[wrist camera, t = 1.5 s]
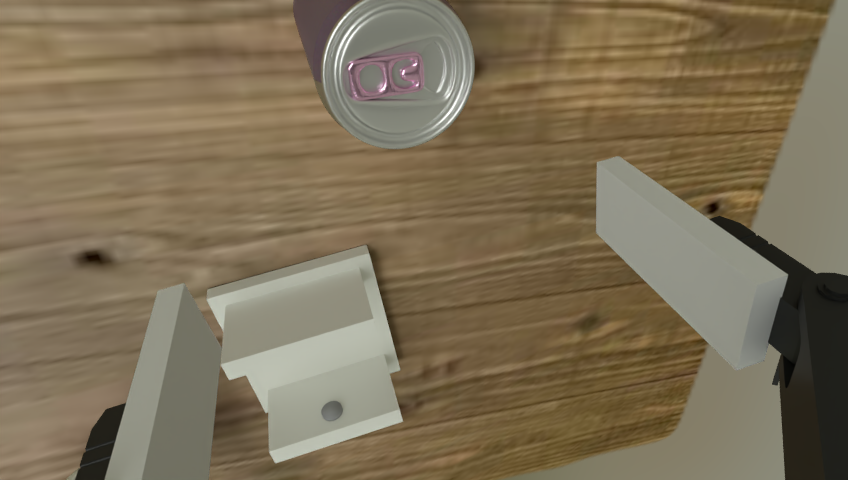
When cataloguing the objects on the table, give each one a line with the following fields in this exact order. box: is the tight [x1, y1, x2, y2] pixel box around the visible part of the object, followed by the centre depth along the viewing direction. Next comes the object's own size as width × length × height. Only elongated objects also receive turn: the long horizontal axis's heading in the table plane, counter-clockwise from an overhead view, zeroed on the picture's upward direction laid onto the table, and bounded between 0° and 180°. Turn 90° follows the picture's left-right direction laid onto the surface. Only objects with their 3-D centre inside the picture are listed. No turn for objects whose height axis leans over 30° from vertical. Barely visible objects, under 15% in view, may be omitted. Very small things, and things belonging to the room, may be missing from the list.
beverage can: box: [293, 0, 475, 149], centre depth 25 cm, size 6×6×15 cm
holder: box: [206, 245, 403, 463], centre depth 40 cm, size 12×13×7 cm
